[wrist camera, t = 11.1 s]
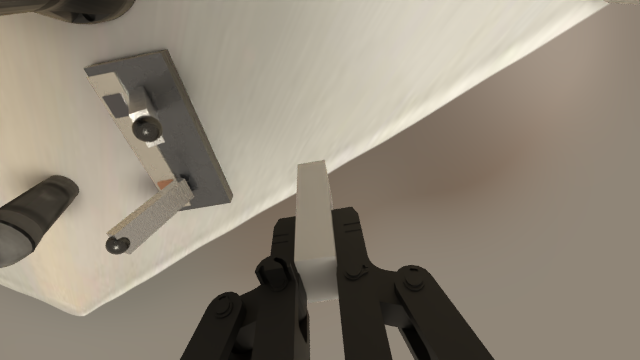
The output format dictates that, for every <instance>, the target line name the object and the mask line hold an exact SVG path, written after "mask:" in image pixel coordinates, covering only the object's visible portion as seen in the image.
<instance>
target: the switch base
mask: <svg viewBox="0 0 640 360" xmlns="http://www.w3.org/2000/svg"><path fill="white" fill-rule="evenodd" d="M84 70H85V72H86V73H87V75H88V76H89V77H87V79H88V81H89V82H90V84H91V85H92V87H93V88H94V90H95V92H96V93H97V95H98V96H99V98H100V99H101V101H102V102H103V104H104V106H105V107H106V109H107V110H108V112H109V113H110V115H111V117H112V118H113V120H114V121H115V123H116V124H117V126H118V127H119V129H120V131H121V132H122V134H123V135H124V137H125V138H126V140H127V142H128V143H129V145H130V146H131V148H132V149H133V151H134V152H135V154H136V156H137V157H138V159H139V160H140V162H141V163H142V165H143V167H144V168H145V170H146V171H147V173H148V174H149V176H150V177H151V179H152V181H153V182H154V184H155V185H156V187H157V188H158V190H159V191H161V190H162V189H163V188H165V187H166V186H167V185H168V184H170V183H171V182H172V181H174V180H175V179H176V178H184V179H185V180H186V182H187V184H188V186H189V187H190V189H191V191H192V193H193V195H194V196H195V197H193V198H192V199H191V200H190V201H189V202H188V203H187V204H186V205H185V206H183V207H182V208H181V209H180V210H179V211H183V210H189V209H195V208H201V207H207V206H213V205H219V204H226V203H231V200H232V197H233V194H232V192H231V190H230V187H229V185H228V183H227V181H226V178H225V176H224V174H223V172H222V170H221V167H220V165H219V163H218V161H217V159H216V156H215V154H214V152H213V150H212V147H211V145H210V143H209V141H208V139H207V136H206V134H205V132H204V130H203V127H202V125H201V123H200V121H199V119H198V116H197V114H196V112H195V110H194V108H193V105H192V103H191V101H190V99H189V96H188V94H187V92H186V90H185V88H184V85H183V83H182V81H181V79H180V77H179V74H178V72H177V70H176V68H175V65H174V63H173V61H172V59H171V57H170V54H169V52H168V50H162V51H157V52H152V53H147V54H143V55H138V56H133V57H128V58H123V59H118V60H113V61H108V62H103V63H98V64H93V65H91V66H88V67H86V68H84ZM141 86H143V87H144V89H145V91H146V93H147V95H148V96H149V98H150V100H151V102H152V104H153V106H154V108H155V110H156V111H157V114H158V118H159V122H160V123H161V125H162V127H163V137H164V140H165V142H164V143H161V144H158V145H155V146H153V147H150V148H148V146H147V144H146V143H145V142H143V141H141V140H139V139H137V138H136V137H135V136H134V134H133V132H132V123H133V121H132V119H131V118H130V116H129V90H130V89H134V88H137V87H141Z"/></svg>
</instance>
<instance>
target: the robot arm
mask: <svg viewBox="0 0 640 360" xmlns="http://www.w3.org/2000/svg"><path fill="white" fill-rule="evenodd" d="M134 1H135V0H0V16H2V15H10V14H18V13H26V12H35V13H38V14H41V15H45V16H48V17H51V18H55V19H58V20H61V21H65V22H69V23H76V24H96V23H101V22H106V21H110V20H113V19H116V18H118V17H120V16H121V15H123V14H124V13H125V12H126V11H127V10H128V9H129V8H130V7H131V6H132V5H133V3H134ZM272 240H273V241H272V248H271V256H269V257H267V258H265V259H264V260H262V261H261V262H260V264H259V265H258V266H257V268H256V270H255V273H256V275H257V277H258V280H259V281H260V284H261V285H260V286H258V287H257V288H255V289H254V290H252V291H250V292H247V293H245V294H243V295H241V296H239V295H238V294H237V293H234V292H225V293H223V294H221V295H218V296H217V297H216V298H215V299H214V300H213V301H212V302H211V303H210V304H209V306H208V307H207V309H206V311H205V313H204V315H203V317H202V319H201V321H200V323H199V325H198V327H197V328H196V330H195V332H194V334H193V336H192V338H191V340H190V342H189V344H188V345H187V347H186V349H185V351H184V353H183V355H182V357H181V359H180V360H310V334H309V333H310V331H309V314H308V310H307V300H308V302H309V303H314V302H321V301H328V300H336V299H339V305H340V315H341V324H342V334H343V344H344V353H345V360H392V355H391V351H390V347H389V342H388V338H387V334H386V329H385V325H390V326H395V327H398V329H399V331H400V333H401V335H402V336H403V339H404V340H405V342H406V344H407V346H408V348H409V350H410V352H411V354H412V356H413V357H414V359H415V360H494V358H493V357H492V356H491V354H490V353H489V352H488V350H487V349H486V348H485V346H484V345H483V344H482V342H481V341H480V340H479V338H478V337H477V336H476V334H475V333H474V331H473V330H472V329H471V327H470V326H469V325H468V324H467V322H466V321H465V319H464V318H463V317H462V315H461V314H460V313H459V311H458V310H457V309H456V307H455V306H454V305H453V303H452V302H451V301H450V299H449V298H448V297H447V295H446V294H445V293H444V291H443V290H442V289H441V287H440V286H439V285H438V283H437V282H436V281H435V279H434V278H433V277H432V276H431V274H430V273H429V272H428V271H427V270H426V269H423V268H422V267H419V266H414V265H408V266H404V267H402V268H400V269H399V270H398V271H397V272H394V271H388V270H383V269H380V268H378V267H376V266H375V265H373V264H372V263H371V261H370V260H369V258H368V255H367V251H366V247H365V242H364V238H363V233H362V229H361V225H360V221H359V216H358V213H357V212H356V211H355V210H354V209H353V207H347V208H341V209H334V210H333V204H332V196H331V191H330V186H329V180H328V175H327V170H326V165H325V160H322V161H316V162H310V163H304V164H298V173H297V200H296V216H294V217H289V218H282V219H279V220H278V222H277V223H276V225H275V227H274V231H273V239H272ZM384 324H385V325H384Z"/></svg>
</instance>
